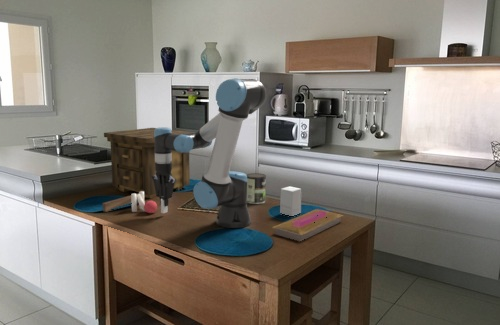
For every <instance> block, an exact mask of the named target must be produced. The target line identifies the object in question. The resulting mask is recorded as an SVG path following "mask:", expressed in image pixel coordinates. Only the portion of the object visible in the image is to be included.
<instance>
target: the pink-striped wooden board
mask: <svg viewBox="0 0 500 325" xmlns="http://www.w3.org/2000/svg"><path fill="white" fill-rule="evenodd" d="M317 215H318V216H317ZM326 217H327V218H326ZM342 217H344V214H340V213H339V214H338V213H337V212H331V211H328V210H323V209H319V208H316V209H313V210H311V211H308V212H306V213H304V214H300V215H297V217H293V218H291V219H289V220H287V221H284V222H281V223H280V224H277V225H274V226H272V227H271V228H272V229H274V235H276V236H281V237H283V238H287V239H289V238H290V240H293V239H294V241H296V240H297V242H300V241H301V242H303V241H305V240H307V239H309V238H312V236H315V235H317V234H319V233H321V232H323V231H325V230H327V229H329V228H331V227H333V226H335V225H337V224H340V223H341V222H342ZM314 222H315V223H314ZM304 239H305V240H304ZM302 240H303V241H302Z"/></svg>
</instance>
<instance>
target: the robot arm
mask: <svg viewBox="0 0 500 325" xmlns="http://www.w3.org/2000/svg"><path fill="white" fill-rule="evenodd" d="M266 100H267V89H266V86H264V84H263V83H262V82H261V81H259V80H258V79H254V78H251V79H250V78H235V77H234V78H231V79H226V80H224V81H222V82H221V83H220V84H219V85H218V87H217V90H216V93H215V101H216V104H217V106H218V110H217V111H218V112H219V113H217V115H215V116H214V117H213V118H211V119H210V120H209V121H208V122H206V123H205V124H204V125H203V126H202V127H200V128H199V129H197V131H195V132H194V131H192V132H193V133H185V134H173V133H172V132H171V130H172V128H170V127H166V126H165V127H161V126H160V127H155V128H156V129H155V131H154V145H155V162H156V163H155V170H156V174H155V175H154V176H152V179H153V181H154V186H155V191H156V197H157V198H159V205H160V213H161V214H165V213H168V206H169V199H172V197H173V193H174V189H173V188H174V183H175V181H176V179H175V178H173V177H172V174H171V170H172V163H171V161H172V151H177V152H181V153H183V152H184V153H187V152H189V153H190V152H191V151H192V150H199V149H205V148H209V147H210V146H211V145H212V143H213V141H214V144H213V148H212V152H211V155H210V160H209V165H208V168H207V170H205V171H204V172H203V174H202V177H201V180H200V181H198V182H197V183H195V185H194V186H193V189H192V190H193V191H192V193H193V197H194V199H195V201H196V204H198V206H199V207H201V208H202V209H204V210H205V209H206V210H211V209H215V208H217V207H219V209H218V211H217V215H216V222H215V223H216V225H217V226H220V227H222V228H226V229H241V228H245V227H248V226H250V224H251V216H250V212H249V209H248V203H247V183H248V182H247V173H245V172H241V171H233V170H231V166H232V162H233V160H234V156H235V151H236V147H237V145H238V139H239V136H240V134H241V133H240V132H241V128H242V125H243V121H245V120H246V119H248V117H249V115H252V114H254V113H255V112H256V111H257V110H259V109H260V108H261V107H262V106H263V105H264V104H265V102H266Z"/></svg>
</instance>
